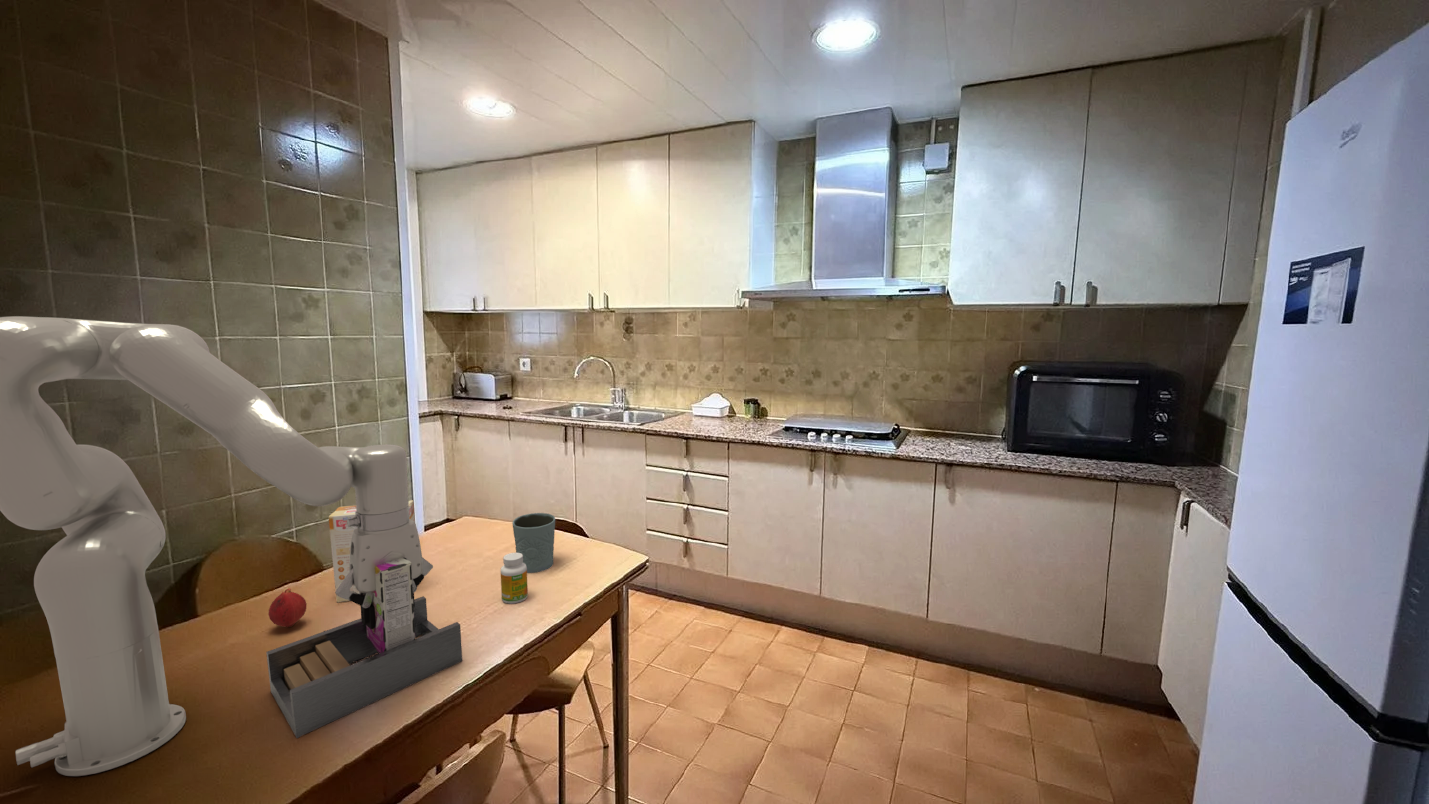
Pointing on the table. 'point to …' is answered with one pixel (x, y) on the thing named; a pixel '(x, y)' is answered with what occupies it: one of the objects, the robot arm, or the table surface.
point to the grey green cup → (535, 540)
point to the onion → (287, 608)
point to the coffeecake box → (346, 542)
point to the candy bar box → (392, 605)
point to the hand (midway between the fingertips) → (388, 618)
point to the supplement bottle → (514, 579)
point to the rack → (354, 669)
